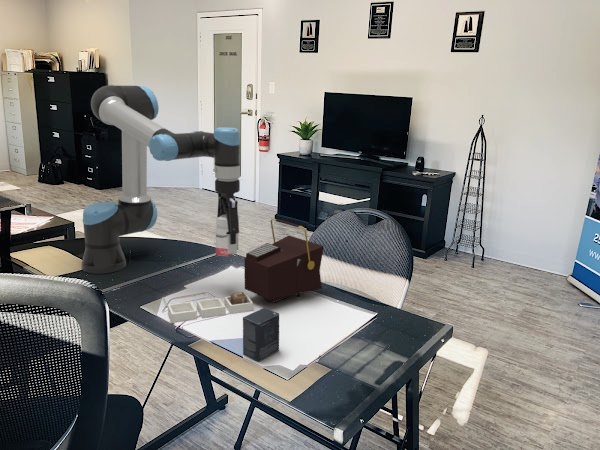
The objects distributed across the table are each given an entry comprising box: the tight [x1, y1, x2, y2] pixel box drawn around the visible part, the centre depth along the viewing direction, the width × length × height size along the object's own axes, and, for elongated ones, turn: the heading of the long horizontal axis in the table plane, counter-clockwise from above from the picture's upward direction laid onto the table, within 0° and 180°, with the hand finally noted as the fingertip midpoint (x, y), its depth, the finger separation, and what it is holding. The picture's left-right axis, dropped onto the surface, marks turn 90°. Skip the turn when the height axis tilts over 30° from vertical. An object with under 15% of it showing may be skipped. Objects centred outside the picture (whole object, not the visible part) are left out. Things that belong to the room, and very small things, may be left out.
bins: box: [167, 293, 254, 325], centre depth 149 cm, size 7×24×3 cm, turn 113°
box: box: [242, 307, 280, 363], centre depth 126 cm, size 8×6×11 cm
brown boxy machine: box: [244, 218, 325, 304], centre depth 159 cm, size 16×23×25 cm
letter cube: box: [229, 291, 247, 305], centre depth 152 cm, size 4×4×4 cm
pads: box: [161, 297, 168, 308], centre depth 160 cm, size 7×24×1 cm, turn 113°
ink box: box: [215, 214, 240, 257], centre depth 157 cm, size 9×5×12 cm, turn 168°
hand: (227, 248), depth 159 cm, fingers closed on ink box, 9 cm apart
